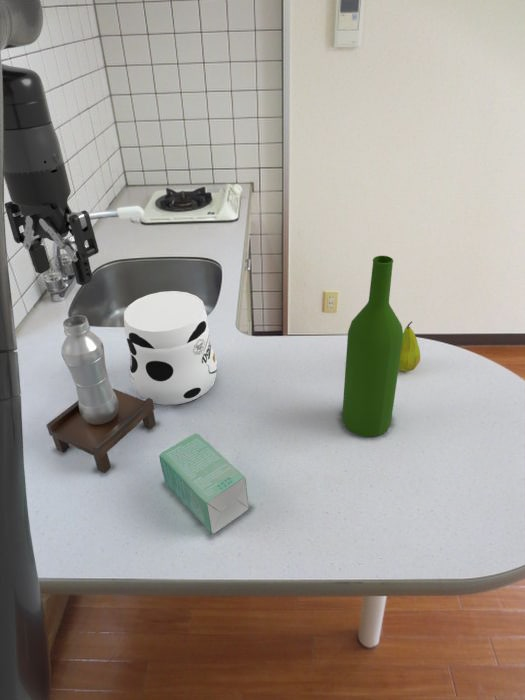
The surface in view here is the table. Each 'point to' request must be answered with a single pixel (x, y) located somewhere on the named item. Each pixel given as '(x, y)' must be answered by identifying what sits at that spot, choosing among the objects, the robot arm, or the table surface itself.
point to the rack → (100, 428)
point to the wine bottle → (373, 358)
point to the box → (205, 482)
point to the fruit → (409, 351)
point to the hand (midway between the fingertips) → (63, 276)
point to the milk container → (169, 348)
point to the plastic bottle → (89, 371)
